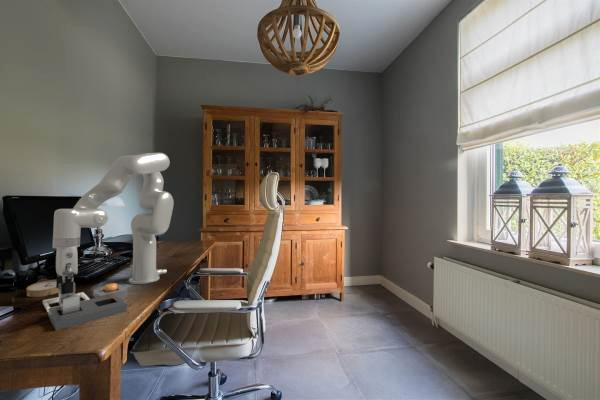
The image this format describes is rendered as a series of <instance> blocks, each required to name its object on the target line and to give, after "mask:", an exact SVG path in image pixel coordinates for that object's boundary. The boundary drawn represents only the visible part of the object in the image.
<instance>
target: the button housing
mask: <svg viewBox="0 0 600 400" xmlns="http://www.w3.org/2000/svg"><path fill="white" fill-rule="evenodd" d="M104 290H105V287H102V288H97V289H94V290H93V299H94V298H98V297H103V296H107V295H112V294H115V295H116V296H117V297H118V298H120V299H122V298H126V297H128V296H129V290H128V288H126V287H124V286H123V285H122V284H117V291H112V292H107V293H105V292H104Z"/></svg>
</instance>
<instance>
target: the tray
mask: <svg viewBox="0 0 600 400" xmlns="http://www.w3.org/2000/svg"><path fill="white" fill-rule="evenodd" d="M77 294H78V295H79V296H80V299H81V298H82V299H84V300H83V301H85V300H89V299H90V297H89V296H88V295H87V294H86V293H85V292H84V291H82V292H78V293H77ZM56 303H59V296H58V297H53V298H48V299H42V305H43V307H44V309H45V310H46V312H47V313H49V308H53V307H54V306H53V307H51V306H50V305H53V304H56Z"/></svg>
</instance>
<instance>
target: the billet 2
mask: <svg viewBox="0 0 600 400" xmlns="http://www.w3.org/2000/svg"><path fill="white" fill-rule="evenodd" d="M80 301H81V298H80V296H79V295H78V294H77V293H76V292H75V294H71V295H66V296H61V316H62V315H66V314H70V313H74V312H78V311H80Z"/></svg>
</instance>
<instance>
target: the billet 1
mask: <svg viewBox="0 0 600 400" xmlns="http://www.w3.org/2000/svg"><path fill="white" fill-rule="evenodd" d="M61 284H62V283H61ZM61 284H59V293H58V297H59V302H58V304H59V306H61V296H66V295H71V294H76V283H75V282H74V287H73V293H68V294H61Z"/></svg>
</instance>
